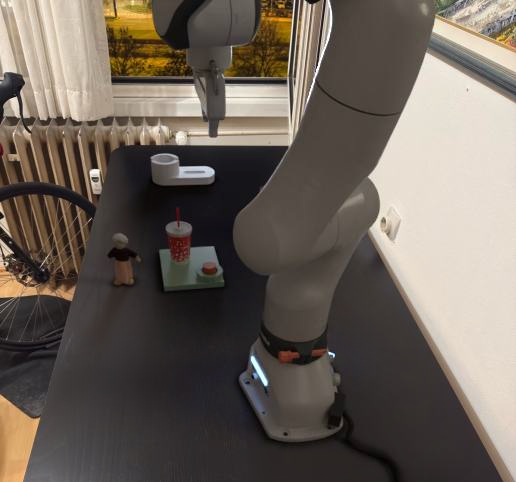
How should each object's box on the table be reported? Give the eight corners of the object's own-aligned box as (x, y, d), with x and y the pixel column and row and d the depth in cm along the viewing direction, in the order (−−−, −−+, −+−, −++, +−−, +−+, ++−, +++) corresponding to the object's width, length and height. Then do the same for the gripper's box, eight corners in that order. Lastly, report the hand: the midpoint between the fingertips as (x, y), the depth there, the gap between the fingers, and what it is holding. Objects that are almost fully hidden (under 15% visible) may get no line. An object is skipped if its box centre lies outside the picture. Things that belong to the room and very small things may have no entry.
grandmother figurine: (109, 288, 110) (101, 239, 102) (109, 278, 113) (100, 230, 104) (143, 284, 112) (138, 236, 103) (142, 275, 115) (136, 228, 106)
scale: (224, 286, 114) (224, 276, 111) (164, 291, 111) (163, 280, 109) (213, 250, 125) (213, 240, 123) (159, 254, 122) (158, 244, 120)
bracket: (153, 185, 150) (151, 164, 146) (152, 174, 157) (150, 153, 152) (216, 184, 154) (216, 163, 150) (212, 172, 160) (212, 152, 156)
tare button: (217, 274, 112) (217, 268, 111) (203, 275, 112) (203, 269, 111) (215, 267, 115) (215, 260, 114) (201, 267, 114) (201, 261, 113)
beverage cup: (179, 250, 121) (176, 199, 112) (198, 259, 119) (196, 207, 109) (162, 261, 117) (158, 208, 108) (181, 270, 115) (178, 217, 106)
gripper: (234, 69, 87) (232, 146, 96) (217, 43, 101) (216, 113, 111) (200, 68, 85) (201, 147, 95) (187, 43, 100) (189, 113, 109)
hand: (209, 128), depth 103 cm, fingers open, 8 cm apart
